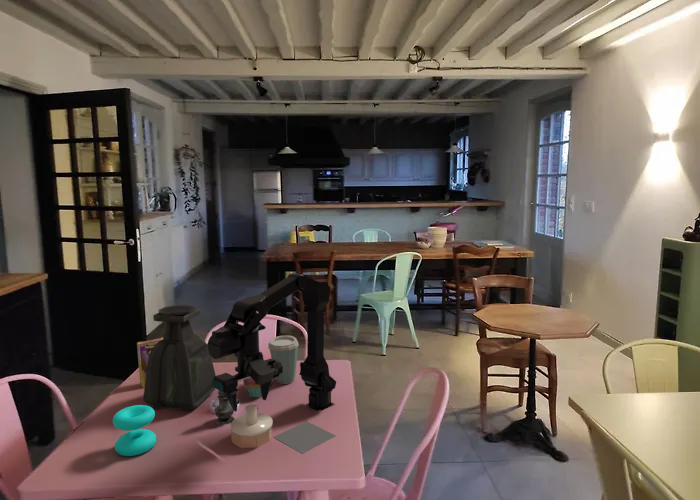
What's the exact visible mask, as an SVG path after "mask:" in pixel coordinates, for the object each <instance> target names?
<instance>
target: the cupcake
mask: <svg viewBox="0 0 700 500" xmlns="http://www.w3.org/2000/svg"><path fill="white" fill-rule="evenodd" d="M242 381H243V386H244V387H245V388H246V389H247V391H248V394H249V396H250V397H252V398H259V397H262V394H261V387H260V385H257V384H256V383H255V381H254V380H253V379H252V378H248V379H245V380H242Z"/></svg>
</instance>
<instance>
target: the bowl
mask: <svg viewBox="0 0 700 500" xmlns="http://www.w3.org/2000/svg"><path fill="white" fill-rule="evenodd" d="M272 429H273V428H272V427H271V428H270V429H269V430H268V431H266V432H264V433H262V434H259V435H255V436H240V435H237V434H235V433H233V432H232V431H231V430H230V431H231V432H230V433H231V435H230V437H231V443H232V444H234V445H235V446H237V447H238V448H240V449H247V448H248V449H251V448H258V447H259V448H260V447H261V446H263V445H265V444H267V443H269V442H270V441H271V437H272Z"/></svg>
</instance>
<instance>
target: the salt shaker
mask: <svg viewBox="0 0 700 500" xmlns="http://www.w3.org/2000/svg"><path fill="white" fill-rule="evenodd" d="M217 399H218V405H217V406H216V407H214V409H213V412H215V413H214V414H215V416H216V420H215V423H216V424H217V425H220V426H221V425H222V426H225V425H228V424H231V423H232V421H233V420H234V419H235V417H234V416H233V414H234V413H235V411H234V410H233V409H232V407H231V405H230V403H229V401H228V399H227V397H226V395H225V394H224V393H223V392H221V391H219V390H218V395H217Z"/></svg>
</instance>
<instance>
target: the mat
mask: <svg viewBox="0 0 700 500" xmlns="http://www.w3.org/2000/svg"><path fill="white" fill-rule="evenodd" d="M335 437H337V436H336V434H334V433H331V432H329V431H327V430H325V429H323V428H322V427H320V426H317V425H316V424H313V423H311V422H309V421H304V422H302V423H300V424H298V425H296V426H293V427H291V428H290V429H288V430H284V431H283V432H281V433H279V434H277V435H275V436H273V439H275V440H277V441H279V442H281V443H282V444H284V445H286V446H287V447H289V448H291V449H293V450H294V451H295V452H298V453H300V454H305V453H307V452H309V451H310V450H312V449H315V448H316V447H318V446H321V445H322V444H323V443H326V442H327V441H329V440H332V439H333V438H335Z"/></svg>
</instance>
